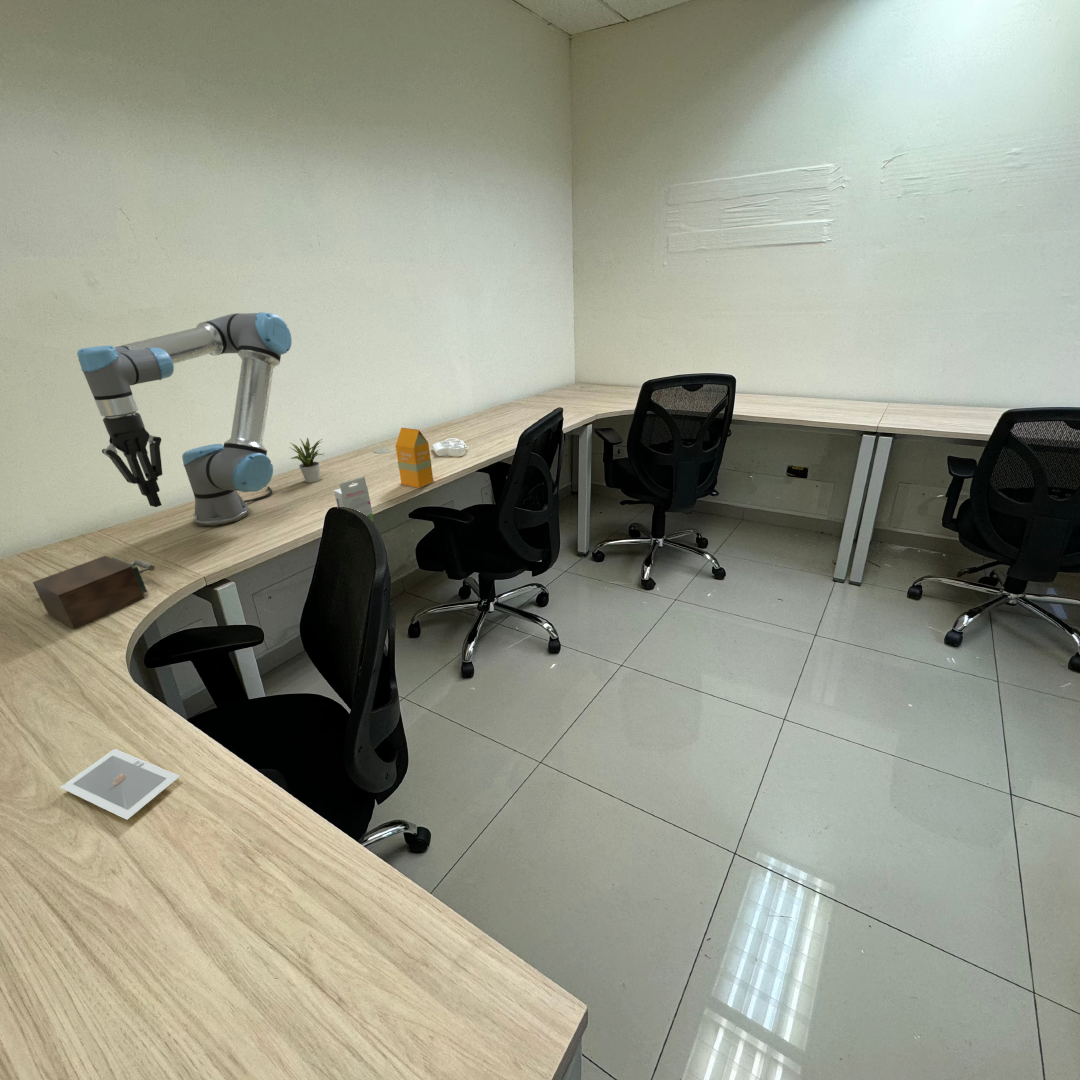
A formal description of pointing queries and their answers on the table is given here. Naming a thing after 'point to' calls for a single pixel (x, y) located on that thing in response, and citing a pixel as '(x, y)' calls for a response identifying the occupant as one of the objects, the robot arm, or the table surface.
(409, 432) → the orange juice
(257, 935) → the table surface
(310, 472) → the house plant
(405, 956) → the table surface
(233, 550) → the table surface
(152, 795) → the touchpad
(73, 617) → the cabinet
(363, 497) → the ink box
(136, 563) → the drawer
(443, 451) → the white flat lumpy piece
